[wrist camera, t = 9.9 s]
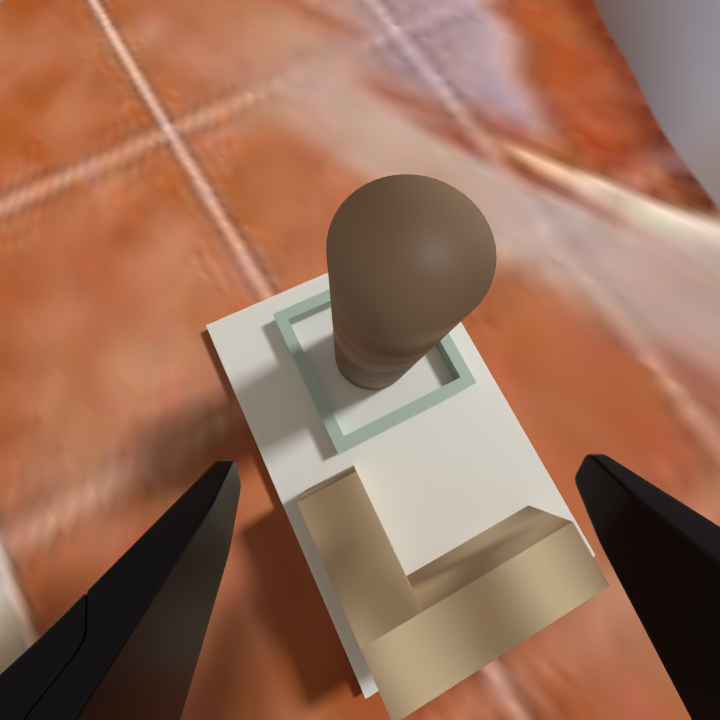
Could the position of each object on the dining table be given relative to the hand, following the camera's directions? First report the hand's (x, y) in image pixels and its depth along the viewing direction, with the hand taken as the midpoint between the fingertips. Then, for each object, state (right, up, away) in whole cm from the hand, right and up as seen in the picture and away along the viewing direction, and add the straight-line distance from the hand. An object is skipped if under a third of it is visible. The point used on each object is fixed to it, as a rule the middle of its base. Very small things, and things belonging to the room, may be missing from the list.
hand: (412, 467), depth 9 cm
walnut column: (-1, +3, +13) cm, 13 cm away
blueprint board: (0, -2, +12) cm, 12 cm away
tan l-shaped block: (+2, -6, +11) cm, 13 cm away
